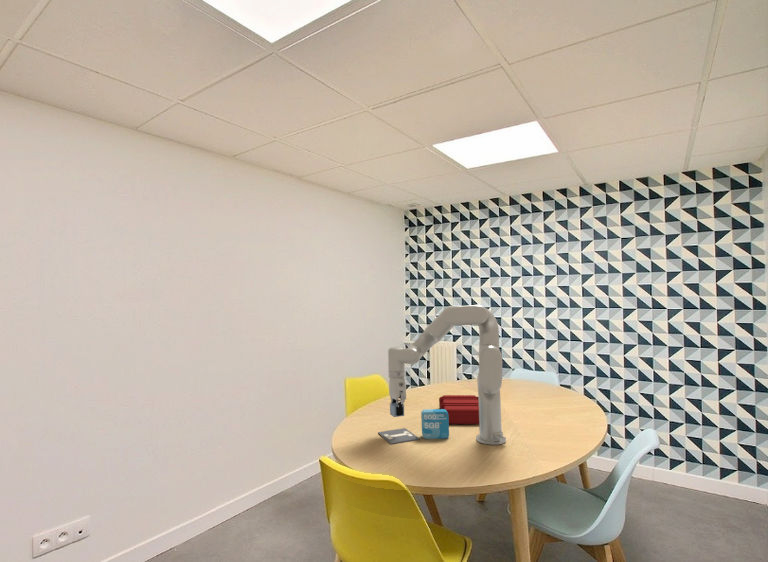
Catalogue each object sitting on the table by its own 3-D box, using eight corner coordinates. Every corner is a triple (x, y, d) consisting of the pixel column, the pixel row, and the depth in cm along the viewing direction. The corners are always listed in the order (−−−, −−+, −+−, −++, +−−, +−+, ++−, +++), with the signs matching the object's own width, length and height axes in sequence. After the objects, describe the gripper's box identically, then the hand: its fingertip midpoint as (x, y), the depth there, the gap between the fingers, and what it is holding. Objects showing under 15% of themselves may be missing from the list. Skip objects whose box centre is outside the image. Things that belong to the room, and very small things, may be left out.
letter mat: (419, 439, 176) (419, 438, 176) (390, 444, 171) (390, 443, 171) (404, 429, 191) (404, 428, 191) (378, 433, 186) (377, 432, 186)
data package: (422, 439, 177) (421, 412, 177) (421, 435, 181) (421, 409, 182) (449, 438, 176) (448, 411, 177) (447, 435, 181) (447, 408, 182)
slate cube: (404, 415, 180) (404, 404, 180) (394, 417, 178) (394, 405, 178) (399, 413, 185) (399, 402, 185) (390, 414, 183) (389, 403, 183)
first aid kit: (439, 408, 228) (438, 393, 228) (479, 408, 225) (479, 393, 226) (441, 425, 196) (440, 408, 196) (488, 426, 193) (487, 408, 194)
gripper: (411, 376, 176) (412, 417, 175) (396, 370, 192) (397, 408, 191) (396, 377, 173) (397, 419, 172) (382, 371, 189) (382, 410, 188)
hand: (397, 413), depth 181 cm, fingers closed on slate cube, 4 cm apart
